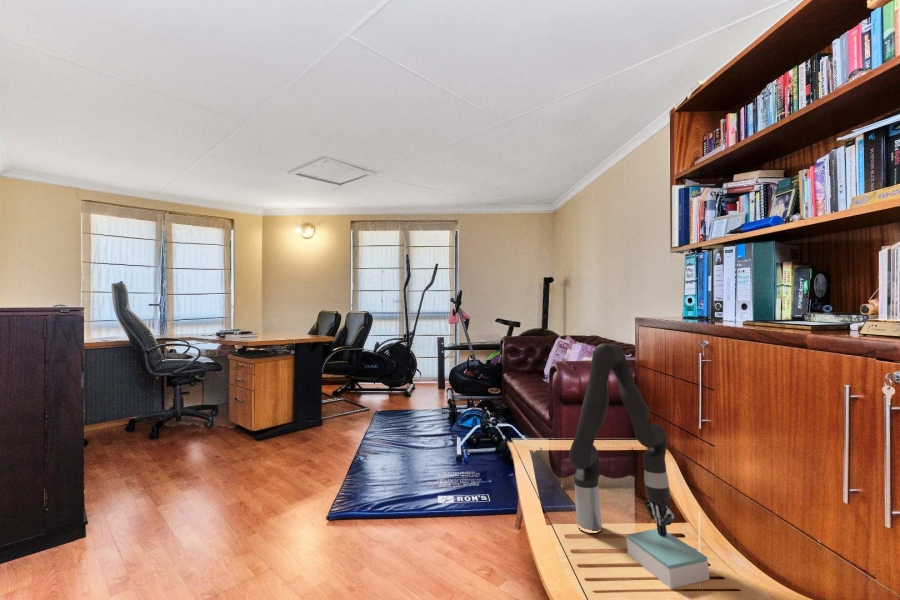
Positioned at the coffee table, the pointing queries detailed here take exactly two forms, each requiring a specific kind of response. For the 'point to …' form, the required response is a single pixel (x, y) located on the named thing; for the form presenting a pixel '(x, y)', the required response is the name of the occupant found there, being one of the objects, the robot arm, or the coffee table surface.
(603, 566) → the coffee table surface
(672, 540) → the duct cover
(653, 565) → the open box
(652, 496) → the robot arm
